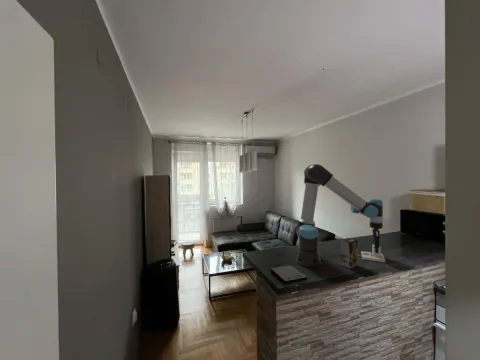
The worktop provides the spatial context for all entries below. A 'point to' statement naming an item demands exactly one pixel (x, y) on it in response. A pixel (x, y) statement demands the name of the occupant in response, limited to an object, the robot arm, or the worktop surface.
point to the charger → (373, 251)
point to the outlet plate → (369, 257)
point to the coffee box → (349, 252)
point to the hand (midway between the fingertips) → (376, 255)
